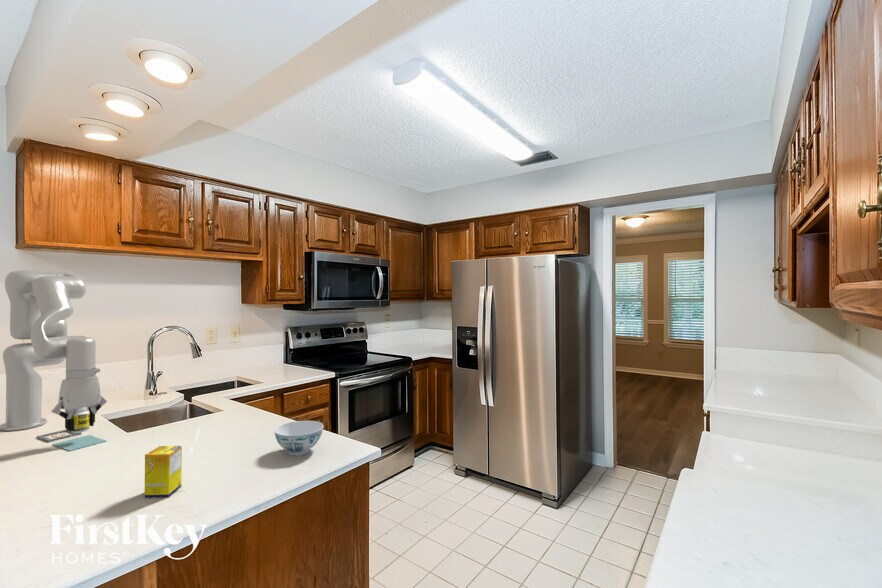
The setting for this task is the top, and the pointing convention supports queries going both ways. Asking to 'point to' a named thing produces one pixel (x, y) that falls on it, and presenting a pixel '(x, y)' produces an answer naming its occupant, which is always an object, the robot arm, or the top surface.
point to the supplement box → (163, 471)
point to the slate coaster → (56, 435)
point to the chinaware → (298, 436)
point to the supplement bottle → (81, 420)
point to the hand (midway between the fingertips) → (80, 427)
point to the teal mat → (79, 443)
